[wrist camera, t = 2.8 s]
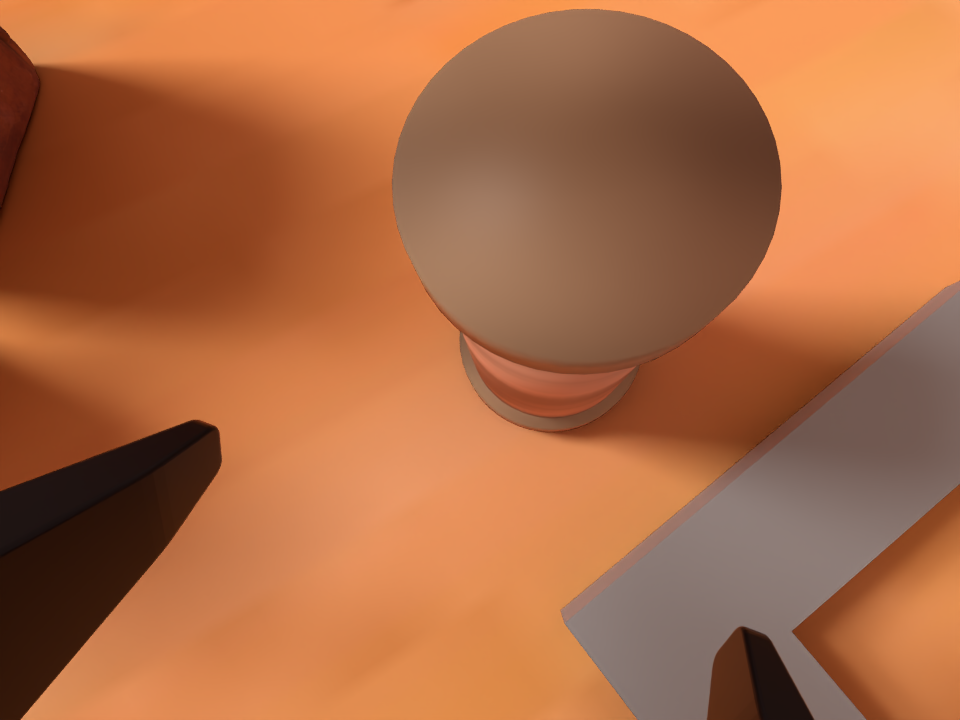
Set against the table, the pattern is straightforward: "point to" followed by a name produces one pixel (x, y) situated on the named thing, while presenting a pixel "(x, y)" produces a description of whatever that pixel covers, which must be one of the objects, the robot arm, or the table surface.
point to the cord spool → (582, 204)
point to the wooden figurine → (14, 103)
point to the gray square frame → (784, 528)
